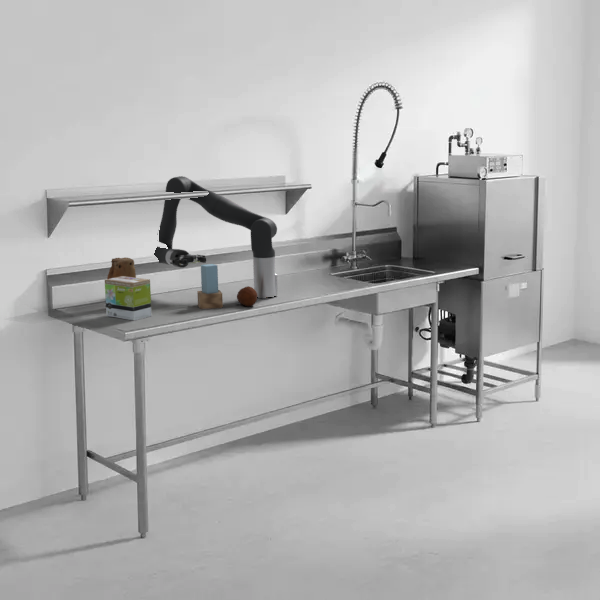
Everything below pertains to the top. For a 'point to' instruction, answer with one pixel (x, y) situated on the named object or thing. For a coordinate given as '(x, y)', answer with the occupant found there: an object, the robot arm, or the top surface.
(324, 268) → the top surface
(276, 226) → the robot arm
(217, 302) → the brown wooden block
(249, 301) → the potato
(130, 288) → the tea box
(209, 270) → the pillar
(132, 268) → the brown tapered piece
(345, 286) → the top surface
